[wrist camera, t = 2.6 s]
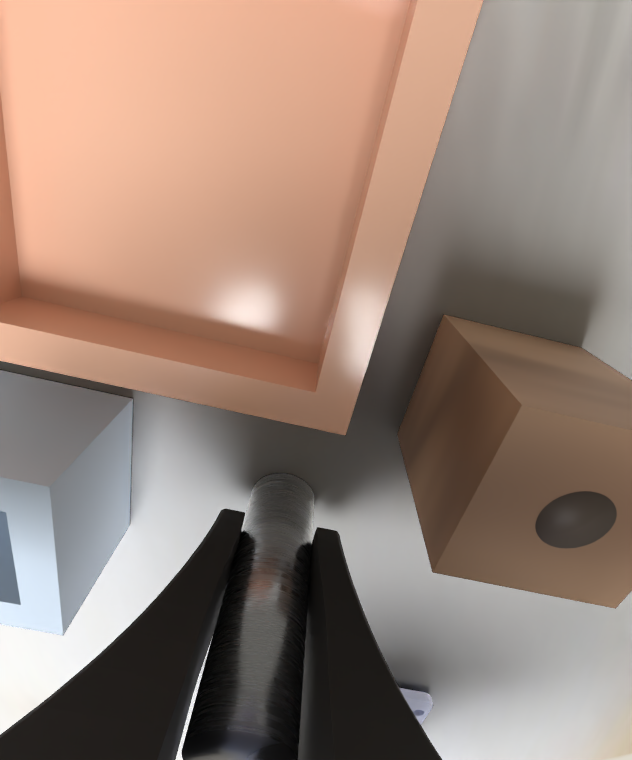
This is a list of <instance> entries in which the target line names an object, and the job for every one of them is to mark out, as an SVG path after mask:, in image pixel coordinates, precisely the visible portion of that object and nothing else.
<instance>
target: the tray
mask: <svg viewBox="0 0 632 760" xmlns="http://www.w3.org/2000/svg"><path fill="white" fill-rule="evenodd" d="M482 3H483V0H0V361H4V362H8V363H13V364H18V365H22V366H27V367H31V368H36V369H41V370H45V371H50V372H54V373H59V374H64V375H68V376H73V377H77V378H82V379H87V380H91V381H96V382H101V383H105V384H110V385H114V386H119V387H124V388H128V389H133V390H137V391H142V392H147V393H151V394H156V395H160V396H165V397H170V398H174V399H179V400H183V401H188V402H193V403H197V404H202V405H207V406H211V407H216V408H220V409H225V410H230V411H234V412H239V413H243V414H248V415H253V416H257V417H262V418H266V419H271V420H276V421H280V422H285V423H289V424H294V425H299V426H303V427H308V428H313V429H317V430H322V431H326V432H331V433H336V434H340V435H345V436H346V433H347V429H348V426H349V423H350V420H351V417H352V414H353V410H354V407H355V404H356V401H357V398H358V395H359V392H360V388H361V385H362V382H363V379H364V376H365V373H366V369H367V366H368V363H369V360H370V357H371V354H372V350H373V347H374V344H375V341H376V338H377V335H378V332H379V328H380V325H381V322H382V319H383V316H384V313H385V309H386V306H387V303H388V300H389V297H390V294H391V290H392V287H393V284H394V281H395V278H396V275H397V272H398V268H399V265H400V262H401V259H402V256H403V253H404V249H405V246H406V243H407V240H408V237H409V234H410V231H411V227H412V224H413V221H414V218H415V215H416V212H417V208H418V205H419V202H420V199H421V196H422V193H423V189H424V186H425V183H426V180H427V177H428V174H429V171H430V167H431V164H432V161H433V158H434V155H435V152H436V148H437V145H438V142H439V139H440V136H441V133H442V129H443V126H444V123H445V120H446V117H447V114H448V111H449V107H450V104H451V101H452V98H453V95H454V92H455V88H456V85H457V82H458V79H459V76H460V73H461V69H462V66H463V63H464V60H465V57H466V54H467V51H468V47H469V44H470V41H471V38H472V35H473V32H474V28H475V25H476V22H477V19H478V16H479V13H480V9H481V6H482Z"/></svg>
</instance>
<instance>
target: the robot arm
mask: <svg viewBox="0 0 632 760" xmlns="http://www.w3.org/2000/svg"><path fill="white" fill-rule="evenodd" d="M244 516H245V513H244V512H239V511H235V510H230V509H223V510H221V512H220V514H219V516H218V517H217V519H216V521H215V523H214V524H213V526H212V528H211V529H210V531H209V532H208V534H207V535H206V537H205V538H204V539H203V541H202V542H201V544H200V545H199V547H198V548H197V549H196V551H195V552H194V553H193V554H192V556H191V557H190V558H189V560H188V561H187V562H186V564H185V565H184V566H183V567H182V569H181V570H180V571H179V572H178V573H177V575H176V576H175V577H174V578H173V579H172V580H171V582H170V583H169V584H168V585H167V586H166V588H165V589H164V590H163V591H162V592H161V593H160V594H159V596H158V597H157V598H156V599H155V600H154V601H153V602H152V603H151V604H150V605H149V606H148V607H147V608H146V610H145V611H144V612H143V613H142V614H141V615H140V616H139V617H138V618H137V619H136V620H135V621H134V622H133V623H132V624H131V625H130V626H129V627H128V628H127V629H126V630H125V631H124V632H123V633H122V634H120V635H119V636H118V637H117V638H116V639H115V640H114V641H113V642H112V643H111V644H110V645H109V646H108V647H107V648H106V649H105V650H104V651H102V652H101V653H100V654H99V655H98V656H97V657H96V658H95V659H94V660H92V661H91V662H90V663H89V664H88V665H87V666H85V667H84V668H83V669H82V670H81V671H80V672H78V673H77V674H76V675H75V676H74V677H73V678H71V679H70V680H69V681H68V682H67V683H65V684H64V685H63V686H62V687H61V688H60V689H58V690H57V691H56V692H55V693H54V694H52V695H51V696H50V697H49V698H47V699H46V700H45V701H44V702H42V703H41V704H40V705H39V706H37V707H36V708H35V709H33V710H32V711H31V712H29V713H28V714H27V715H26V716H24V717H23V718H22V719H20V720H19V721H18V722H16V723H15V724H14V725H12V726H11V727H10V728H9V729H7V730H6V731H5V732H3V733H2V734H1V735H0V760H175V759H176V755H177V751H178V747H179V744H180V740H181V736H182V732H183V729H184V725H185V721H186V718H187V714H188V710H189V706H190V703H191V699H192V695H193V692H194V689H195V686H196V682H197V679H198V676H199V673H200V670H201V667H202V664H203V662H204V659H205V656H206V653H207V650H208V647H209V644H210V642H211V639H212V636H213V633H214V630H215V626H216V622H217V619H218V615H219V611H220V608H221V604H222V600H223V597H224V593H225V589H226V585H227V582H228V578H229V574H230V571H231V567H232V564H233V561H234V557H235V554H236V550H237V546H238V542H239V539H240V535H241V531H242V526H243V521H244ZM432 708H433V702H432V698H431V696H430V695H429V694H428V693H425V692H421V691H415V690H409V689H404V688H399V687H398V685H397V683H396V681H395V679H394V677H393V675H392V673H391V671H390V669H389V667H388V665H387V663H386V661H385V659H384V657H383V655H382V653H381V651H380V649H379V647H378V645H377V642H376V640H375V638H374V636H373V633H372V631H371V629H370V626H369V624H368V621H367V619H366V617H365V614H364V612H363V609H362V606H361V604H360V601H359V598H358V596H357V593H356V590H355V587H354V585H353V582H352V579H351V576H350V573H349V569H348V566H347V563H346V559H345V556H344V552H343V549H342V545H341V541H340V536H339V534H338V532H337V531H334V530H329V529H324V528H319V527H317V529H316V532H315V535H314V538H313V542H312V545H311V561H310V577H309V593H308V609H307V625H306V641H305V656H304V672H303V688H302V704H301V720H300V735H299V751H298V760H442V759H441V757H440V756H439V754H438V753H437V751H436V750H435V748H434V746H433V745H432V743H431V742H430V740H429V738H428V737H427V735H426V733H425V732H424V730H423V728H422V727H421V724H422V722H423V721H424V719H425V718H426V716H427V715H428V714H429V712H430V711H431V709H432Z"/></svg>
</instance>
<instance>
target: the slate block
mask: <svg viewBox="0 0 632 760" xmlns="http://www.w3.org/2000/svg"><path fill="white" fill-rule="evenodd" d="M132 418H133V399H132V398H128V397H123V396H118V395H114V394H109V393H105V392H100V391H95V390H91V389H86V388H81V387H77V386H72V385H67V384H63V383H58V382H54V381H49V380H44V379H40V378H35V377H30V376H26V375H21V374H16V373H12V372H7V371H3V370H0V624H1V625H7V626H12V627H18V628H24V629H29V630H35V631H41V632H46V633H52V634H58V635H64V633H65V632H66V630H67V628H68V627H69V625H70V623H71V622H72V620H73V618H74V617H75V615H76V613H77V612H78V610H79V609H80V607H81V605H82V604H83V602H84V600H85V599H86V597H87V595H88V594H89V592H90V590H91V589H92V587H93V585H94V584H95V582H96V580H97V579H98V577H99V575H100V574H101V572H102V570H103V569H104V567H105V565H106V564H107V562H108V560H109V559H110V557H111V555H112V554H113V552H114V550H115V549H116V547H117V546H118V544H119V542H120V541H121V539H122V537H123V536H124V534H125V532H126V531H127V529H128V527H129V526H130V494H131V456H132Z"/></svg>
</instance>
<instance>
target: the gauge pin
mask: <svg viewBox="0 0 632 760" xmlns="http://www.w3.org/2000/svg"><path fill="white" fill-rule="evenodd" d="M313 515H314V494H313V491H312V489H311V487H310V486H309V485H308V484H307V483H306V482H305V481H304V480H302V479H301V478H299V477H297V476H294V475H290V474H285V473H276V474H271V475H268V476H265V477H263V478H261V479H260V480H259V481H258V482H257V483H256V484H255V485H254V487H253V489H252V493H251V496H250V500H249V504H248V508H247V511H246V515H245V519H244V522H243V526H242V531H241V535H240V539H239V542H238V546H237V550H236V554H235V557H234V561H233V564H232V567H231V571H230V574H229V578H228V582H227V585H226V589H225V593H224V597H223V600H222V604H221V608H220V611H219V615H218V619H217V622H216V626H215V630H214V634H213V637H212V641H211V645H210V648H209V652H208V656H207V660H206V663H205V667H204V671H203V674H202V678H201V682H200V685H199V689H198V693H197V697H196V700H195V704H194V708H193V711H192V715H191V719H190V723H189V726H188V730H187V734H186V737H185V741H184V745H183V748H182V758H183V760H298V751H299V735H300V720H301V704H302V688H303V672H304V656H305V641H306V625H307V609H308V593H309V577H310V561H311V545H312V530H313Z"/></svg>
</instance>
